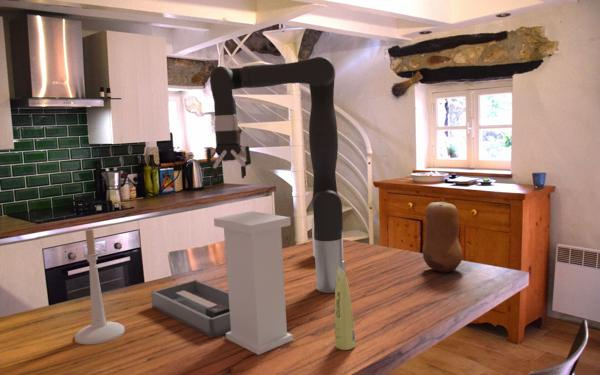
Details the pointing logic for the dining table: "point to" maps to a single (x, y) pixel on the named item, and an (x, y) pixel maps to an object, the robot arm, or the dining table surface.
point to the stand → (255, 279)
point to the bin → (192, 318)
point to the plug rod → (201, 304)
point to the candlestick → (96, 305)
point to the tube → (343, 314)
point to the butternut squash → (442, 237)
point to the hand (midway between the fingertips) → (230, 178)
